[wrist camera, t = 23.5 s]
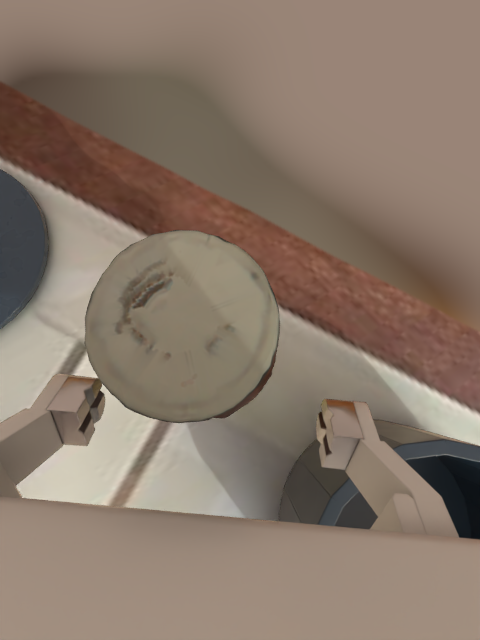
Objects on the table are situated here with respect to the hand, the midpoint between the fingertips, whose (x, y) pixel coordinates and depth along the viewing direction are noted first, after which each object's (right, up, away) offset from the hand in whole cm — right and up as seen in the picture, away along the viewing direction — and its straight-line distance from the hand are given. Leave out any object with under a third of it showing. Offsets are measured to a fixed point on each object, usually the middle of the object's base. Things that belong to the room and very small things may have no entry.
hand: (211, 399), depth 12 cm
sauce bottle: (-1, 0, +14) cm, 14 cm away
